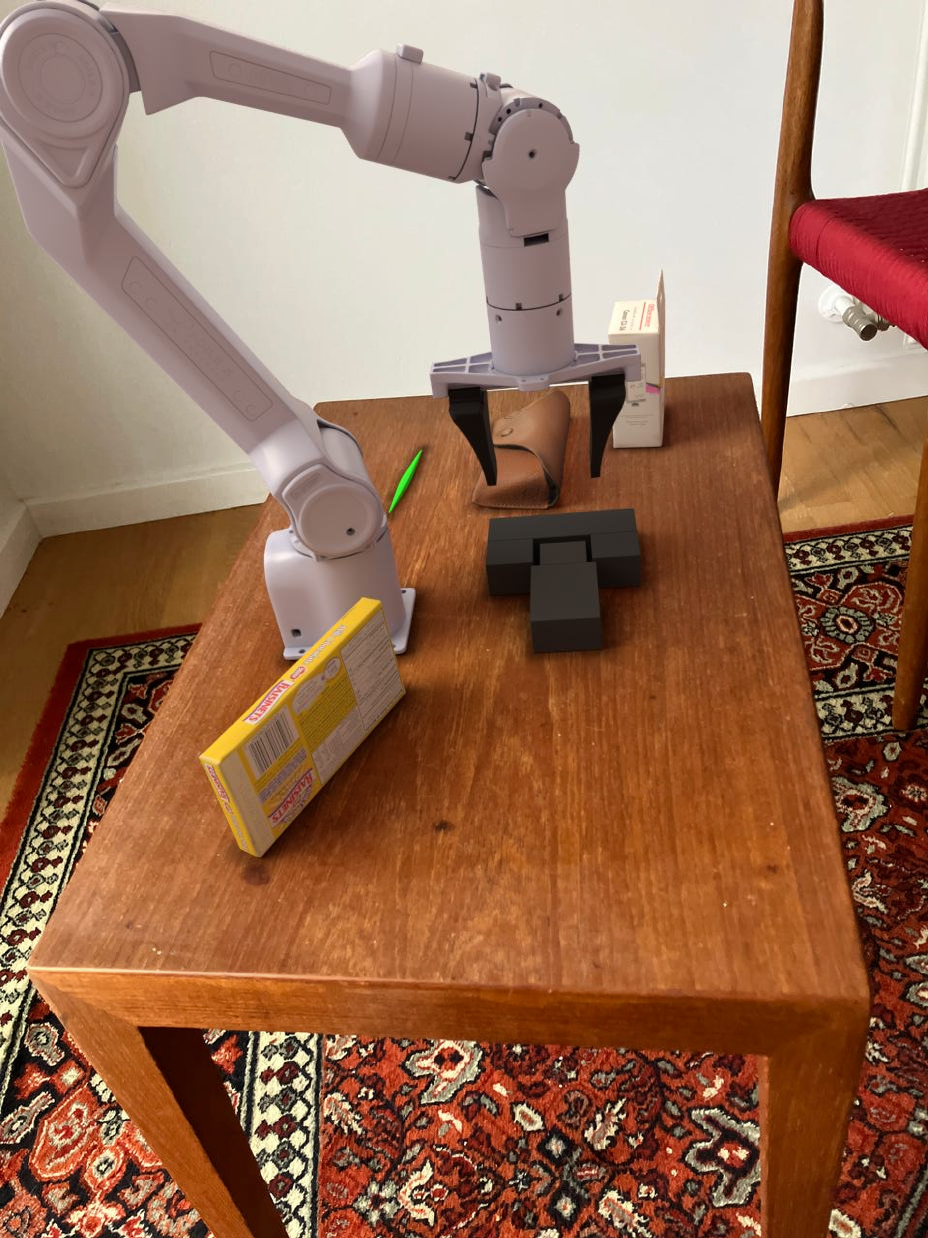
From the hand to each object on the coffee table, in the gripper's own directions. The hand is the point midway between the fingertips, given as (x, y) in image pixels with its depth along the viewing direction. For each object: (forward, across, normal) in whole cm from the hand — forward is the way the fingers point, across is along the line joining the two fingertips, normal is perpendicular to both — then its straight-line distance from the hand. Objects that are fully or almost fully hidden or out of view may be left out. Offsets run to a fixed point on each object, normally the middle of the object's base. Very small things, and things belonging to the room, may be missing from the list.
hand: (543, 475), depth 71 cm
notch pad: (+9, +1, +2) cm, 10 cm away
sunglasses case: (+10, -2, +20) cm, 22 cm away
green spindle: (+10, -14, +18) cm, 25 cm away
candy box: (+10, -15, -20) cm, 27 cm away
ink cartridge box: (+10, +9, +25) cm, 28 cm away
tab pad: (+9, +1, -5) cm, 10 cm away
